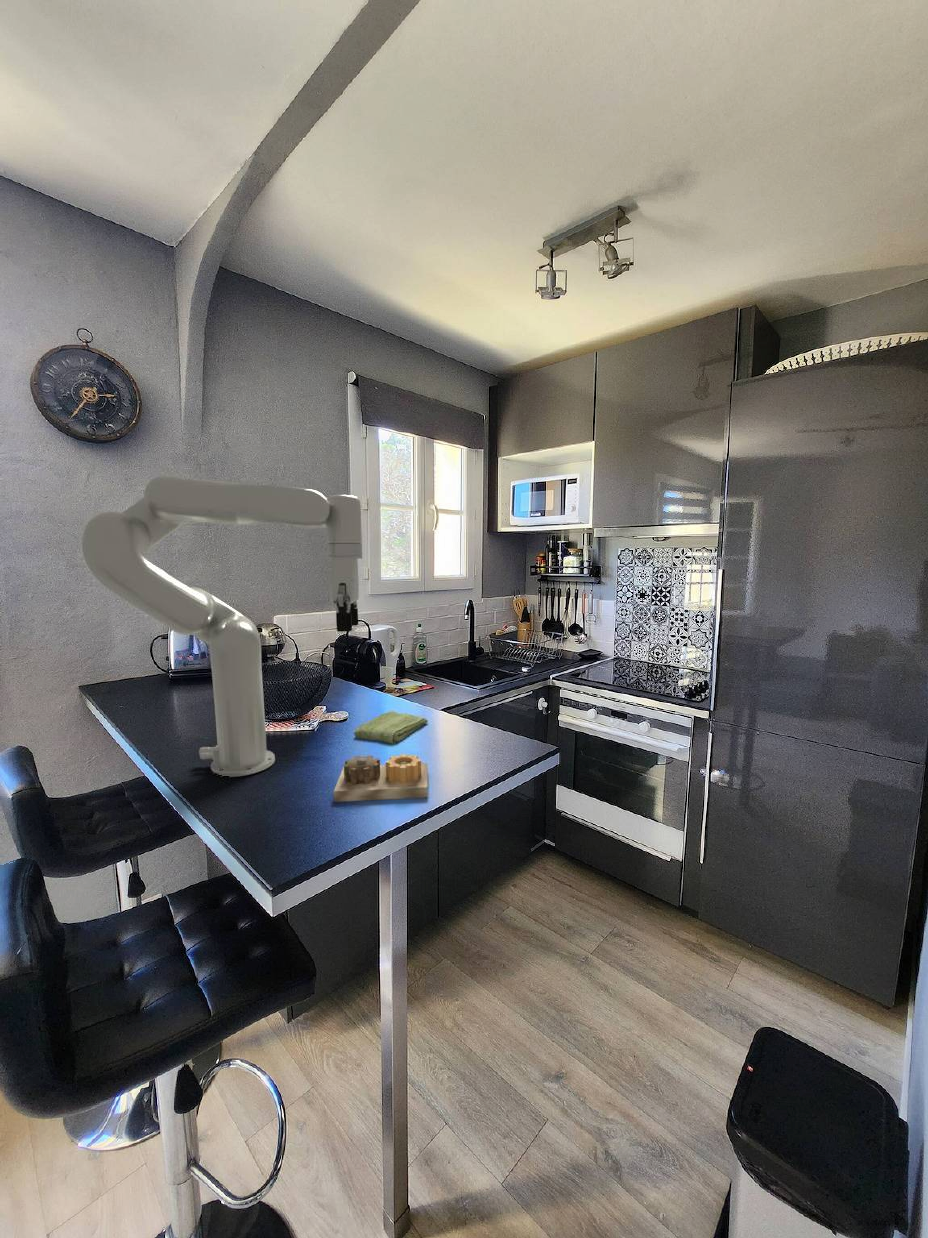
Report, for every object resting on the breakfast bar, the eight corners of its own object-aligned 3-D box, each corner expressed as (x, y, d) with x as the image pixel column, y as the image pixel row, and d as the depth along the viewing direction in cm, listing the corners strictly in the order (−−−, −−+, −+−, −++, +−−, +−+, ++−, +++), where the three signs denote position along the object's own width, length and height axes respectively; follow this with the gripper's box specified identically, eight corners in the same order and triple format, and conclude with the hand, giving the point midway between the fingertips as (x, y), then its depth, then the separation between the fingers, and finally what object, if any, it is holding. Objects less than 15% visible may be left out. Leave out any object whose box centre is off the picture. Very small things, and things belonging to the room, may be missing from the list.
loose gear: (384, 784, 94) (384, 768, 94) (387, 769, 101) (387, 754, 100) (421, 782, 94) (421, 767, 94) (421, 767, 101) (421, 753, 101)
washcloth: (430, 724, 135) (429, 712, 135) (395, 747, 119) (395, 734, 119) (388, 718, 140) (388, 707, 140) (349, 739, 124) (349, 727, 124)
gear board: (334, 801, 92) (332, 773, 91) (344, 776, 102) (342, 750, 102) (427, 797, 93) (427, 769, 92) (427, 772, 104) (427, 746, 103)
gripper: (335, 552, 121) (338, 623, 123) (319, 551, 103) (323, 634, 105) (366, 552, 121) (369, 623, 123) (356, 551, 104) (359, 633, 106)
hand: (348, 628), depth 114 cm, fingers open, 9 cm apart
